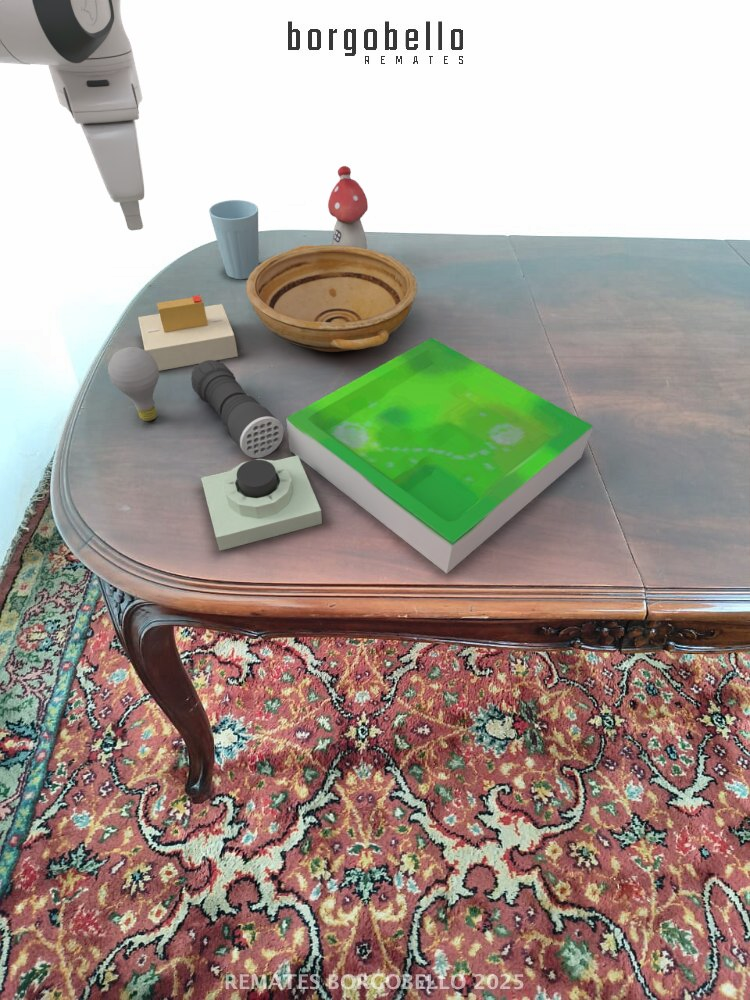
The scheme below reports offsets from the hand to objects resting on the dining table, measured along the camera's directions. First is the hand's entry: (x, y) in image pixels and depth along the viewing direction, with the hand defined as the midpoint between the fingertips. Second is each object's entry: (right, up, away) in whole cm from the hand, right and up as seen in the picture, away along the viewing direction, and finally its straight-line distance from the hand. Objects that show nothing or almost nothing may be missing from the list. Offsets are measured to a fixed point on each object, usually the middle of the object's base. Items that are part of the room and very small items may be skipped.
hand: (131, 213), depth 75 cm
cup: (+8, +3, +26) cm, 28 cm away
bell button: (+19, -35, -13) cm, 42 cm away
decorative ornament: (+26, +5, +29) cm, 40 cm away
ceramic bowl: (+25, -11, +14) cm, 31 cm away
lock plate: (+4, -14, +10) cm, 18 cm away
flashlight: (+14, -27, -1) cm, 30 cm away
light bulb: (+3, -26, -1) cm, 27 cm away
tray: (+38, -31, -4) cm, 50 cm away
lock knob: (+4, -12, +8) cm, 15 cm away
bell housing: (+19, -37, -10) cm, 43 cm away
